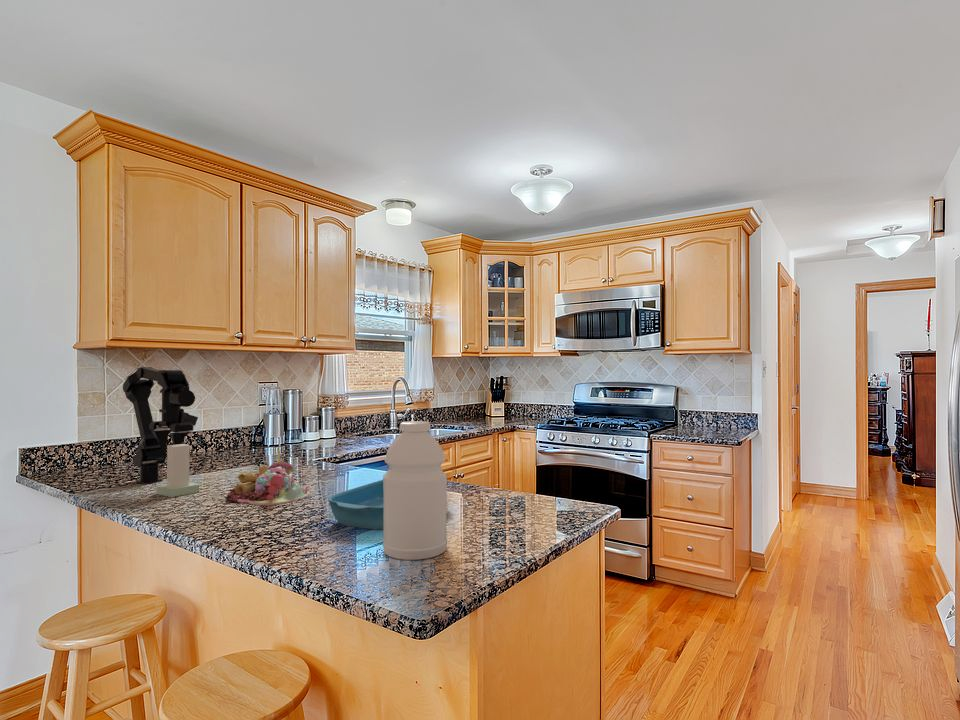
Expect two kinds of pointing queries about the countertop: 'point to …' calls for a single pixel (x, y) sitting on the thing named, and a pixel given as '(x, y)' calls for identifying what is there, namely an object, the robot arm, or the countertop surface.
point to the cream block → (178, 465)
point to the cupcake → (282, 465)
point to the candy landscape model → (267, 487)
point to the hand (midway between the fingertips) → (170, 451)
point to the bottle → (414, 495)
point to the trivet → (177, 490)
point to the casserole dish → (360, 506)
